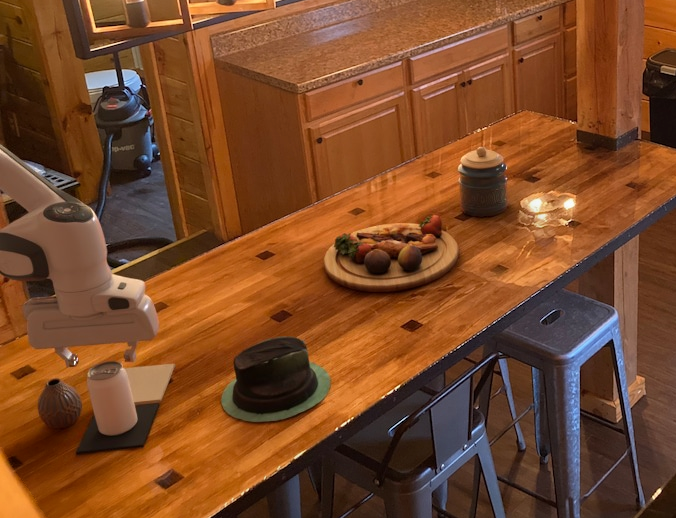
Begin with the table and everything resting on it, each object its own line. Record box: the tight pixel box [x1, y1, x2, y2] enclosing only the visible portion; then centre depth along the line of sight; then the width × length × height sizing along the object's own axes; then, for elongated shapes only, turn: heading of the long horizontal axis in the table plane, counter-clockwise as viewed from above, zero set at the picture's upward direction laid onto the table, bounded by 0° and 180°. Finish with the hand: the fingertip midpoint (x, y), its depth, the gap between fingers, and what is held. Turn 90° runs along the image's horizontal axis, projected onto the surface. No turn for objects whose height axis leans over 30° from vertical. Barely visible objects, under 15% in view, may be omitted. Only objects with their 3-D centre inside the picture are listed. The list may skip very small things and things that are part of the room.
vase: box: [37, 377, 83, 430], centre depth 172 cm, size 7×7×9 cm
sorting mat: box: [75, 363, 176, 455], centre depth 177 cm, size 11×25×1 cm, turn 10°
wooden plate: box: [322, 214, 460, 293], centre depth 228 cm, size 32×32×8 cm
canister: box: [457, 146, 509, 218], centre depth 254 cm, size 13×13×18 cm
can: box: [86, 360, 137, 436], centre depth 169 cm, size 6×6×12 cm
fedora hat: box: [220, 336, 332, 423], centre depth 181 cm, size 15×19×20 cm
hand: (102, 362), depth 166 cm, fingers open, 8 cm apart
